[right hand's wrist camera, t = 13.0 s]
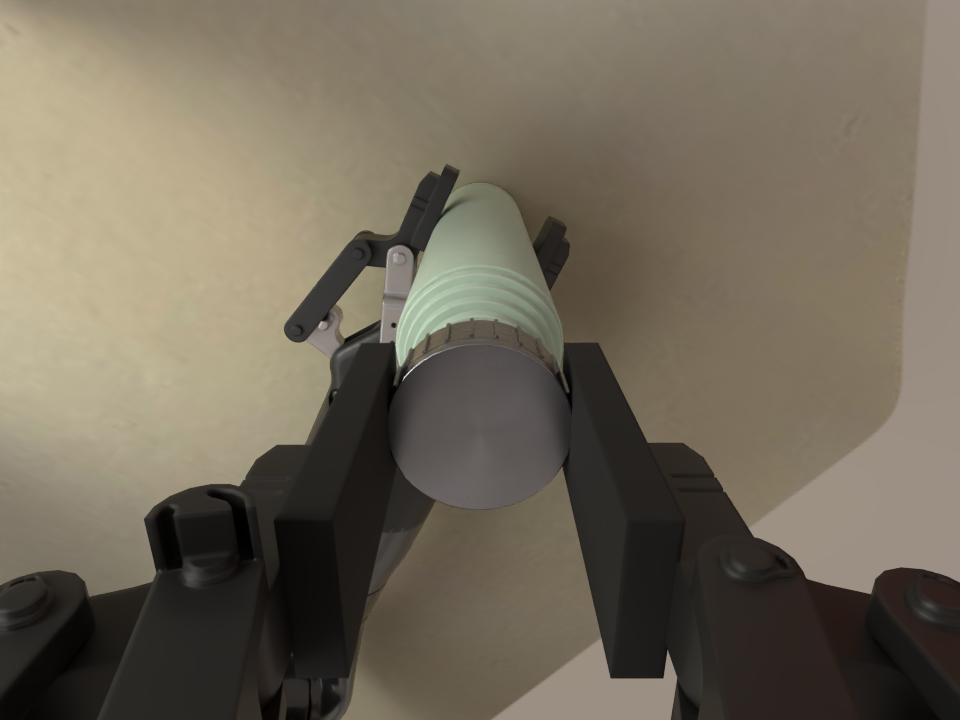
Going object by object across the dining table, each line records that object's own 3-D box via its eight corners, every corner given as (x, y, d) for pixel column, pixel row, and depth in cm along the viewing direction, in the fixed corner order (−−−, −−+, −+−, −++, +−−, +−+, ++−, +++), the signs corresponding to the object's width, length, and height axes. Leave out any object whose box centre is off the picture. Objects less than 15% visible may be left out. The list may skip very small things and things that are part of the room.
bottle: (485, 164, 34) (495, 270, 12) (538, 230, 36) (633, 434, 14) (420, 220, 35) (323, 410, 13) (474, 282, 37) (467, 549, 15)
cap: (451, 282, 13) (448, 303, 12) (602, 375, 14) (615, 405, 13) (361, 423, 15) (349, 457, 13) (504, 501, 16) (507, 541, 14)
